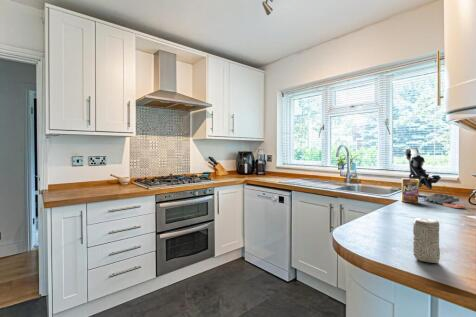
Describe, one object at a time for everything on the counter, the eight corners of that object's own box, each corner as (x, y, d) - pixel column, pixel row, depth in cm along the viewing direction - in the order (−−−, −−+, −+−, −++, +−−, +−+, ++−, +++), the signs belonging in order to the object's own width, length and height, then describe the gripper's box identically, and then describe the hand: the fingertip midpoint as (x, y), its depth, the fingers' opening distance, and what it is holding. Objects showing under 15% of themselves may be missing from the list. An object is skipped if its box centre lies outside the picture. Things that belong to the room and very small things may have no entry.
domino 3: (432, 200, 159) (444, 195, 150) (440, 200, 159) (452, 195, 150) (433, 202, 159) (445, 198, 150) (441, 202, 159) (453, 198, 150)
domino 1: (423, 198, 167) (434, 194, 158) (431, 198, 167) (442, 194, 158) (424, 200, 166) (435, 196, 157) (432, 200, 166) (443, 196, 157)
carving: (438, 258, 74) (439, 218, 73) (441, 268, 67) (442, 224, 67) (412, 254, 77) (413, 215, 77) (412, 262, 71) (413, 221, 71)
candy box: (401, 201, 161) (402, 178, 161) (401, 200, 165) (401, 178, 165) (418, 203, 157) (418, 179, 157) (417, 202, 161) (417, 178, 160)
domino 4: (437, 201, 156) (450, 198, 146) (445, 201, 156) (458, 198, 146) (438, 203, 155) (451, 201, 146) (446, 203, 155) (459, 201, 146)
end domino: (442, 202, 152) (456, 205, 142) (450, 202, 152) (465, 205, 142) (442, 205, 152) (456, 208, 142) (450, 205, 152) (465, 208, 142)
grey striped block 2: (428, 199, 163) (439, 194, 154) (435, 199, 163) (447, 194, 154) (429, 201, 163) (440, 197, 154) (436, 201, 163) (448, 197, 154)
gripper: (426, 178, 181) (437, 196, 170) (400, 178, 181) (410, 196, 170) (434, 168, 173) (447, 186, 162) (408, 168, 173) (419, 186, 162)
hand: (430, 188), depth 164 cm, fingers closed
